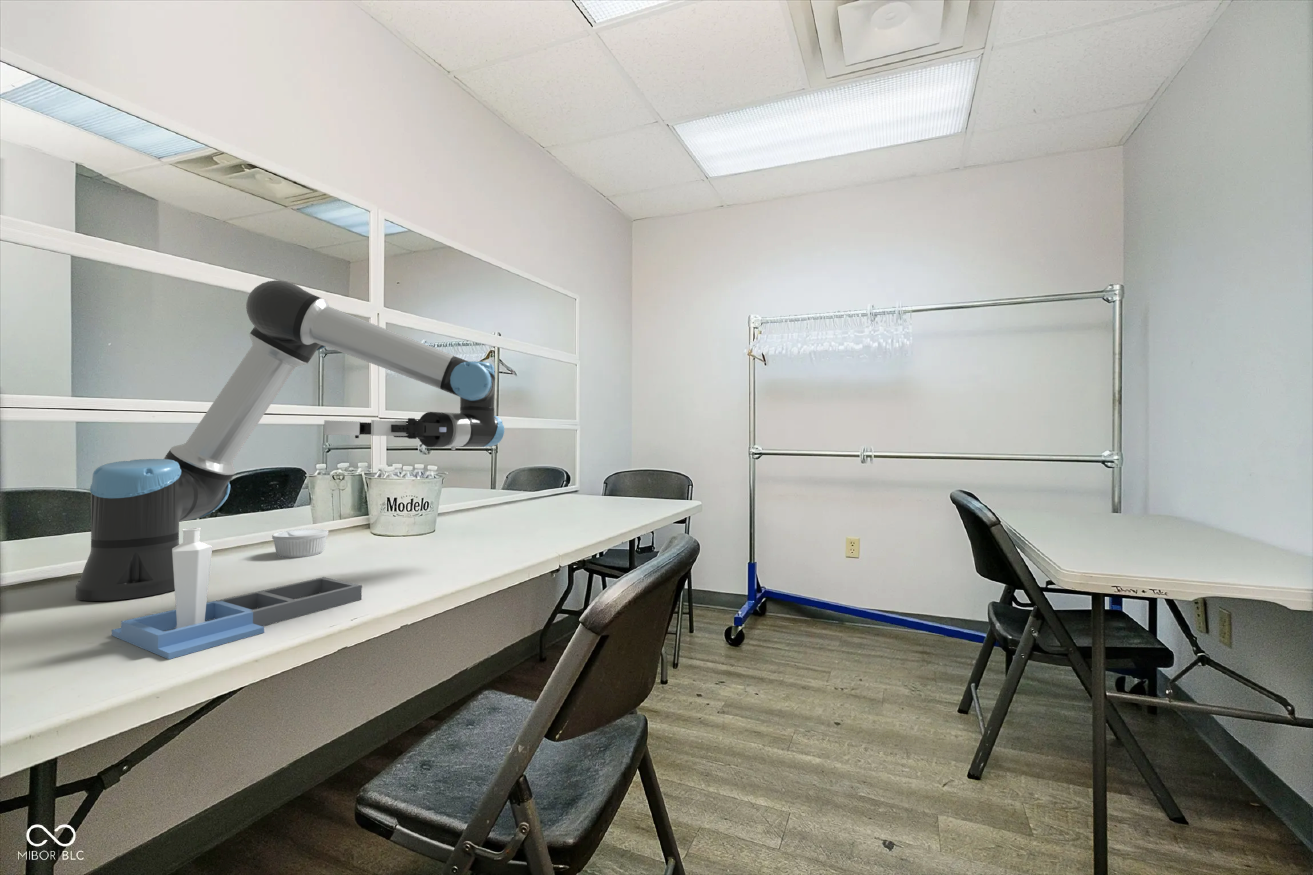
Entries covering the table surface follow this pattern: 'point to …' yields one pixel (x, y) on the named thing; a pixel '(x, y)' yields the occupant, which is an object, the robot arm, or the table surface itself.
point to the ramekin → (300, 542)
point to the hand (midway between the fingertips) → (347, 427)
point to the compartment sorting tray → (235, 617)
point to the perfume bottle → (191, 578)
